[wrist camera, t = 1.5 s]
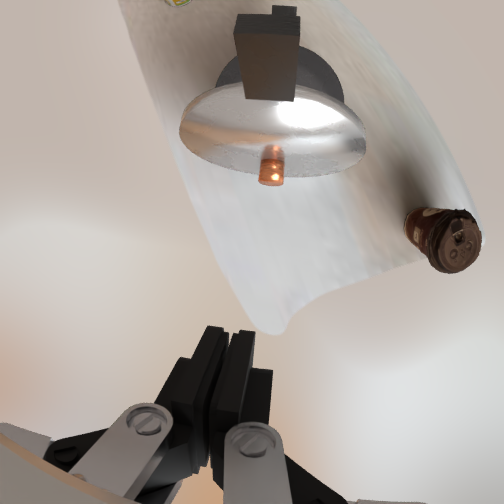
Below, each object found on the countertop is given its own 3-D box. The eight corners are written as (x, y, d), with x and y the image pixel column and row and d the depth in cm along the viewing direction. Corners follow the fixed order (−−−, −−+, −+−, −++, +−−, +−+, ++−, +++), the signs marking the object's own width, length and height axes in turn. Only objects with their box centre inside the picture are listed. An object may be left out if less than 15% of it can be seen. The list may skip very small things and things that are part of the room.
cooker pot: (236, 34, 37) (224, 4, 28) (333, 41, 36) (344, 12, 26) (224, 170, 43) (208, 171, 34) (326, 179, 42) (338, 182, 32)
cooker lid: (343, 174, 32) (343, 201, 32) (204, 162, 33) (200, 188, 33) (424, 42, 10) (437, 88, 10) (120, 28, 12) (101, 70, 11)
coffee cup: (407, 191, 41) (447, 200, 28) (447, 207, 41) (493, 221, 28) (391, 244, 43) (426, 271, 31) (432, 257, 43) (472, 285, 31)
